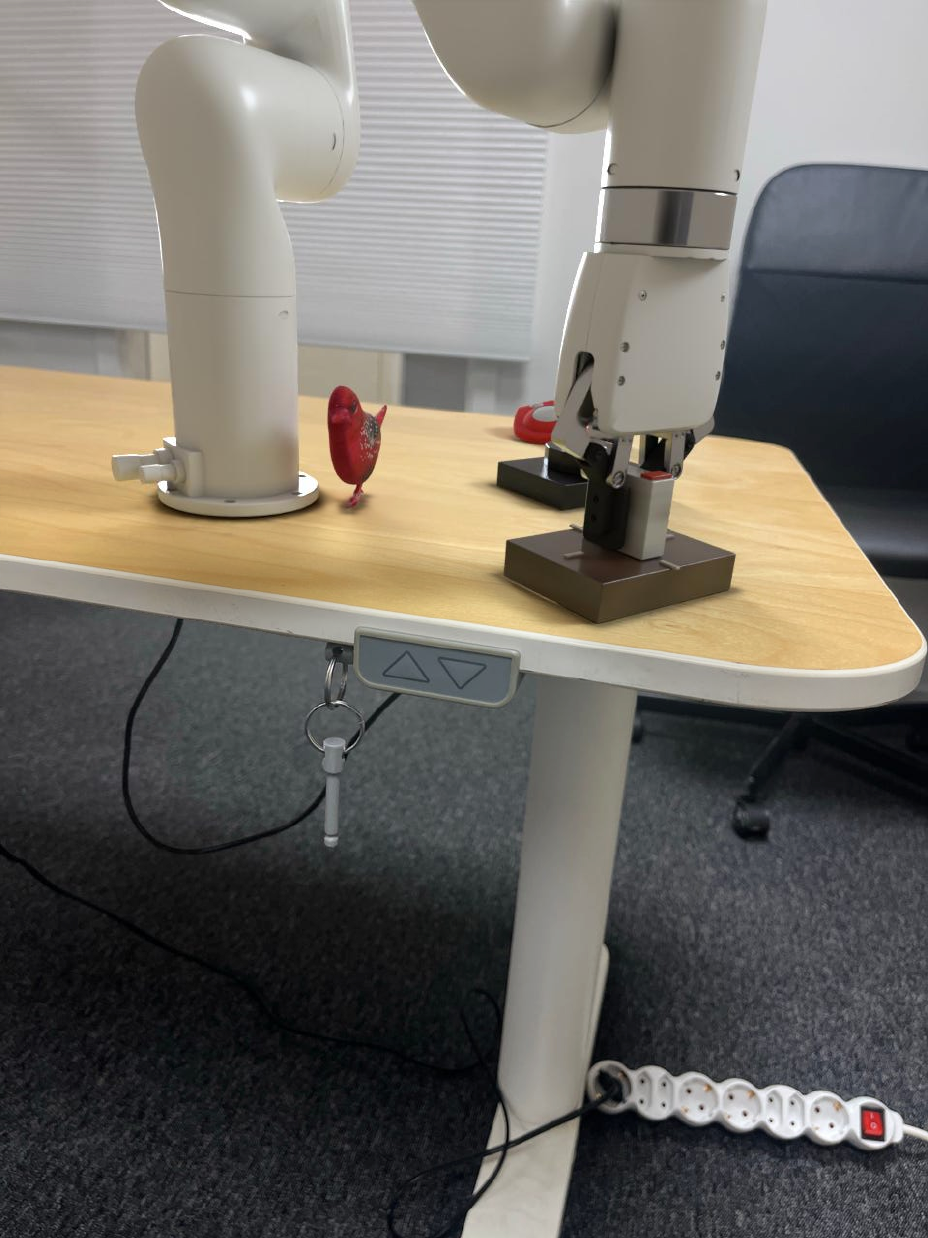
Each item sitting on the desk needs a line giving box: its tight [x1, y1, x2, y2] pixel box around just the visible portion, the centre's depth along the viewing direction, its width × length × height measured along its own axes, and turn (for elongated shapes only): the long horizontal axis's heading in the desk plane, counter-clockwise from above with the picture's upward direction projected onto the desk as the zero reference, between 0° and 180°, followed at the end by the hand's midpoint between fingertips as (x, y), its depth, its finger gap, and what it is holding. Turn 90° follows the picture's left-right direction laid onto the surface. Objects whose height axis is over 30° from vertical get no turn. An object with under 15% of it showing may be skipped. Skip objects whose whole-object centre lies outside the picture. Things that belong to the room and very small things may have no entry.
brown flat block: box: [503, 523, 737, 624], centre depth 58 cm, size 12×10×3 cm
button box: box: [495, 441, 639, 512], centre depth 79 cm, size 12×9×4 cm
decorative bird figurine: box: [326, 385, 388, 509], centre depth 72 cm, size 3×18×10 cm, turn 172°
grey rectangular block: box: [582, 465, 676, 560], centre depth 57 cm, size 6×2×5 cm, turn 36°
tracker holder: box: [512, 399, 589, 445], centre depth 102 cm, size 12×4×10 cm
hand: (623, 537), depth 57 cm, fingers open, 3 cm apart
